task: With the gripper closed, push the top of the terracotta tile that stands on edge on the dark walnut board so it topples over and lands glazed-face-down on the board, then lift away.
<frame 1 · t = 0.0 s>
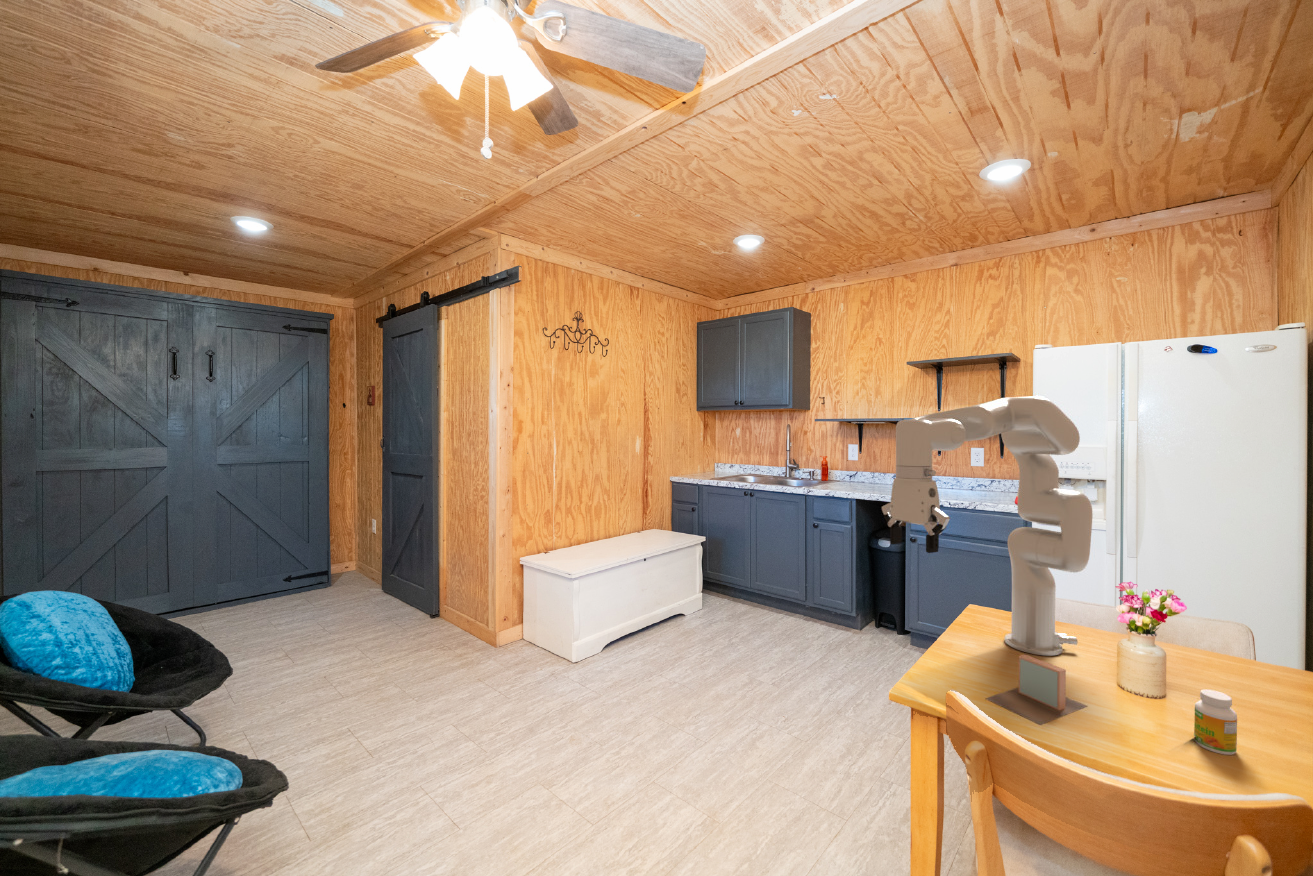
hand: (913, 547, 122), 31 cm above the table, tool pointing down, fingers open, 9 cm apart
tile: (1041, 700, 112), point 1 cm above the table, touching board
supplement bottle: (1214, 747, 98), on the table
board: (1035, 707, 112), on the table
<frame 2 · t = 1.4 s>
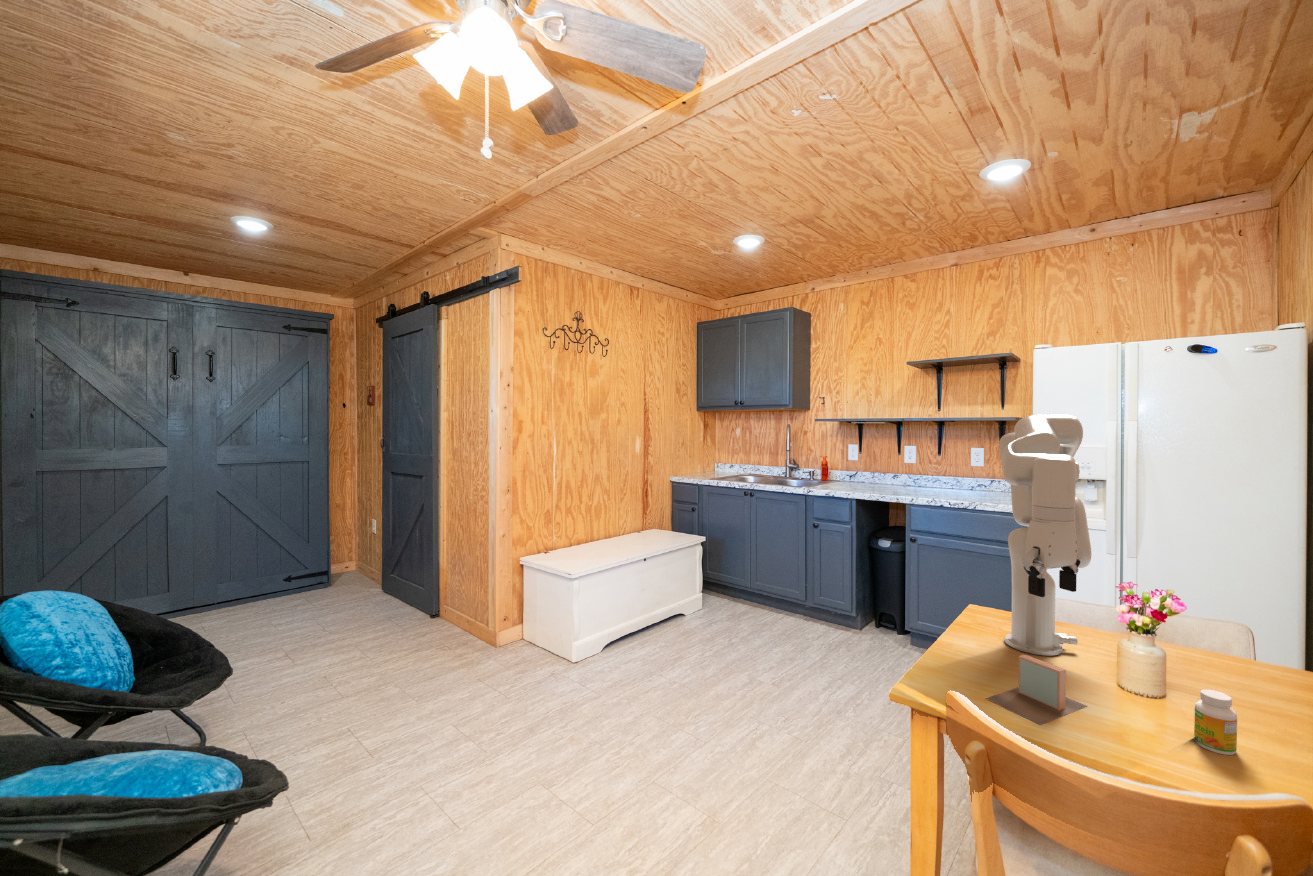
hand: (1052, 592, 116), 23 cm above the table, tool pointing down, fingers open, 9 cm apart
nothing on the table moved.
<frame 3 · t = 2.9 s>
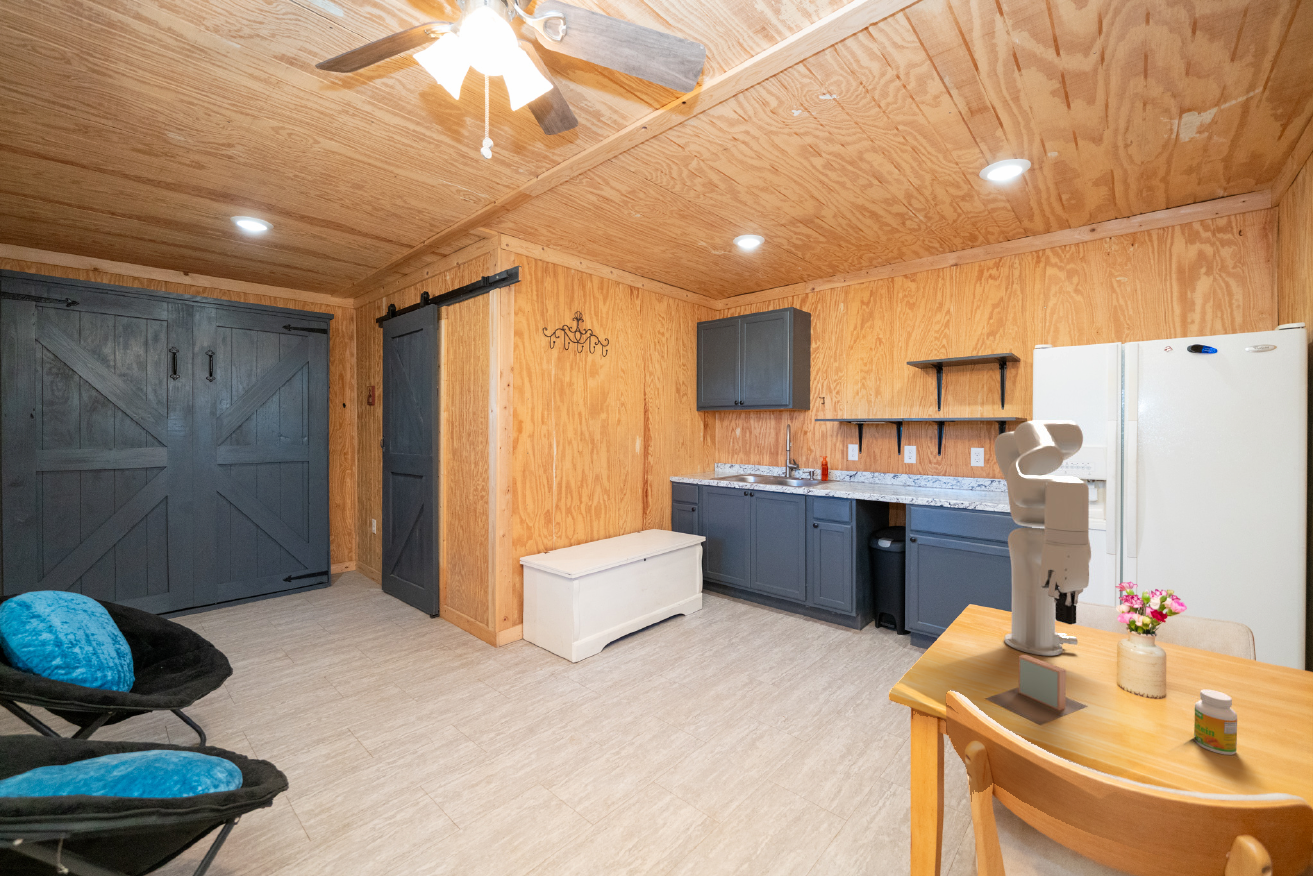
hand: (1065, 622, 115), 17 cm above the table, tool pointing down, fingers closed
nothing on the table moved.
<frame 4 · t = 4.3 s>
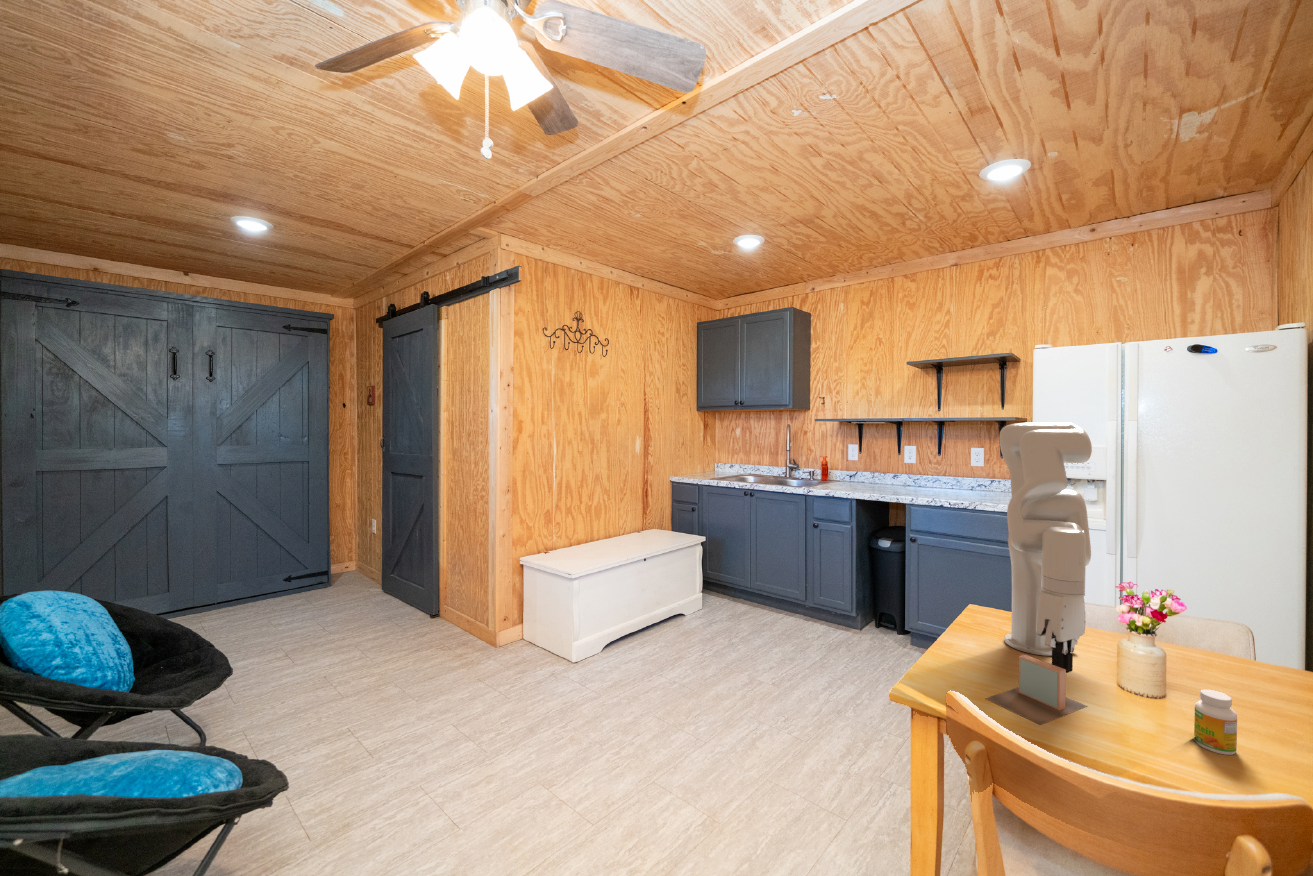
hand: (1062, 669, 115), 6 cm above the table, tool pointing down, fingers closed
nothing on the table moved.
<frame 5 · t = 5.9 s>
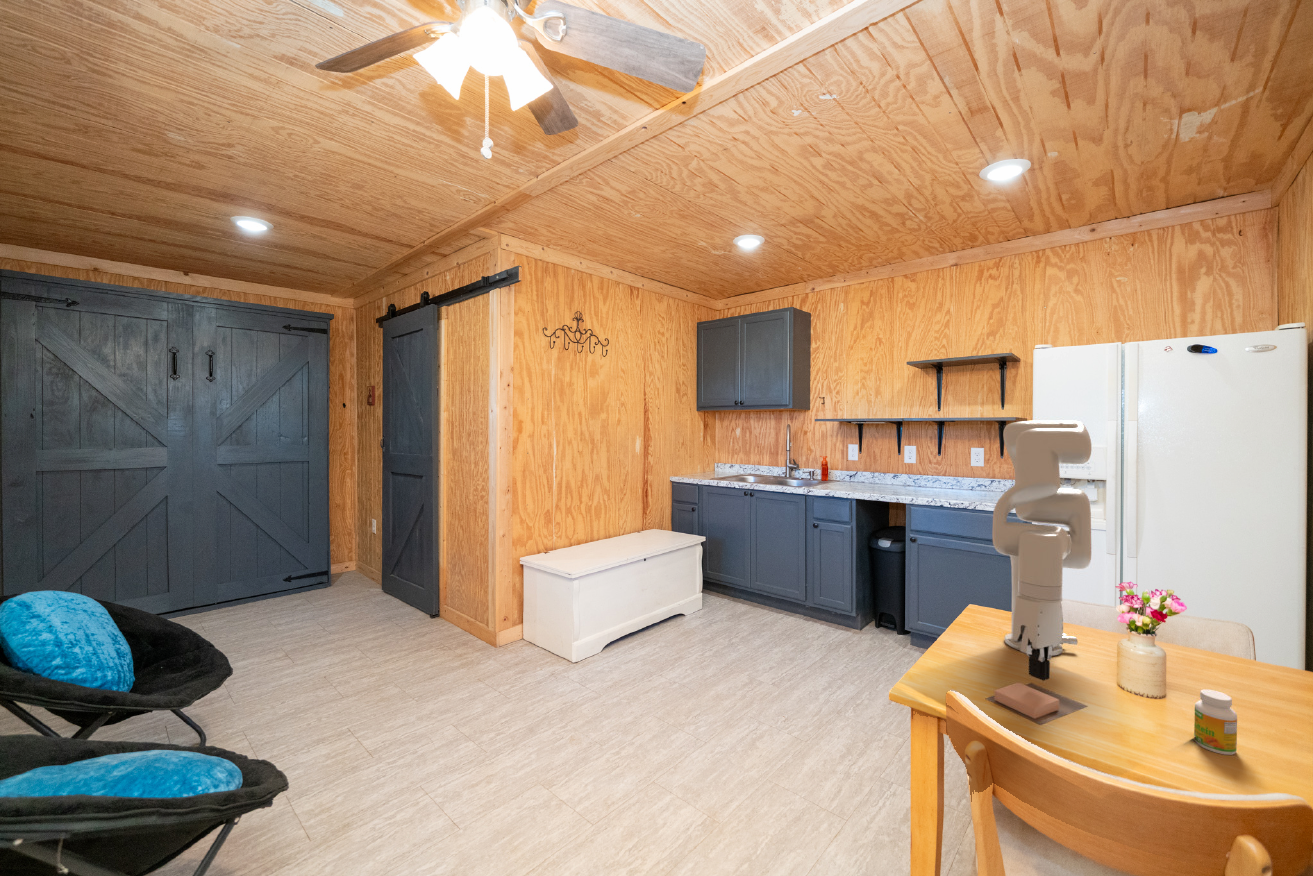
hand: (1038, 677, 112), 6 cm above the table, tool pointing down, fingers closed
tile: (1038, 695, 112), point 2 cm above the table, tilted 90°, touching board
everything else where it was.
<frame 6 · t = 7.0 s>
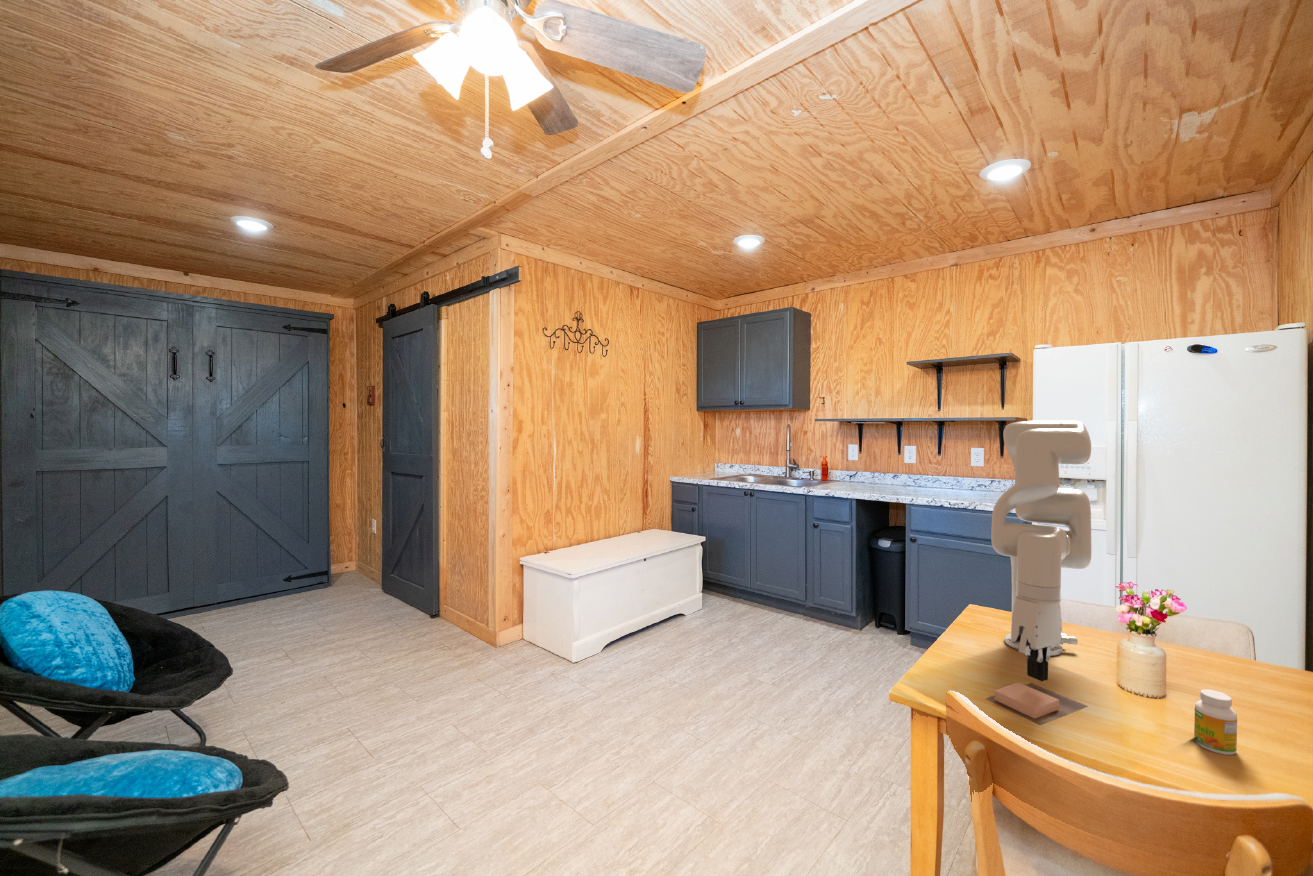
hand: (1037, 677, 112), 6 cm above the table, tool pointing down, fingers closed
nothing on the table moved.
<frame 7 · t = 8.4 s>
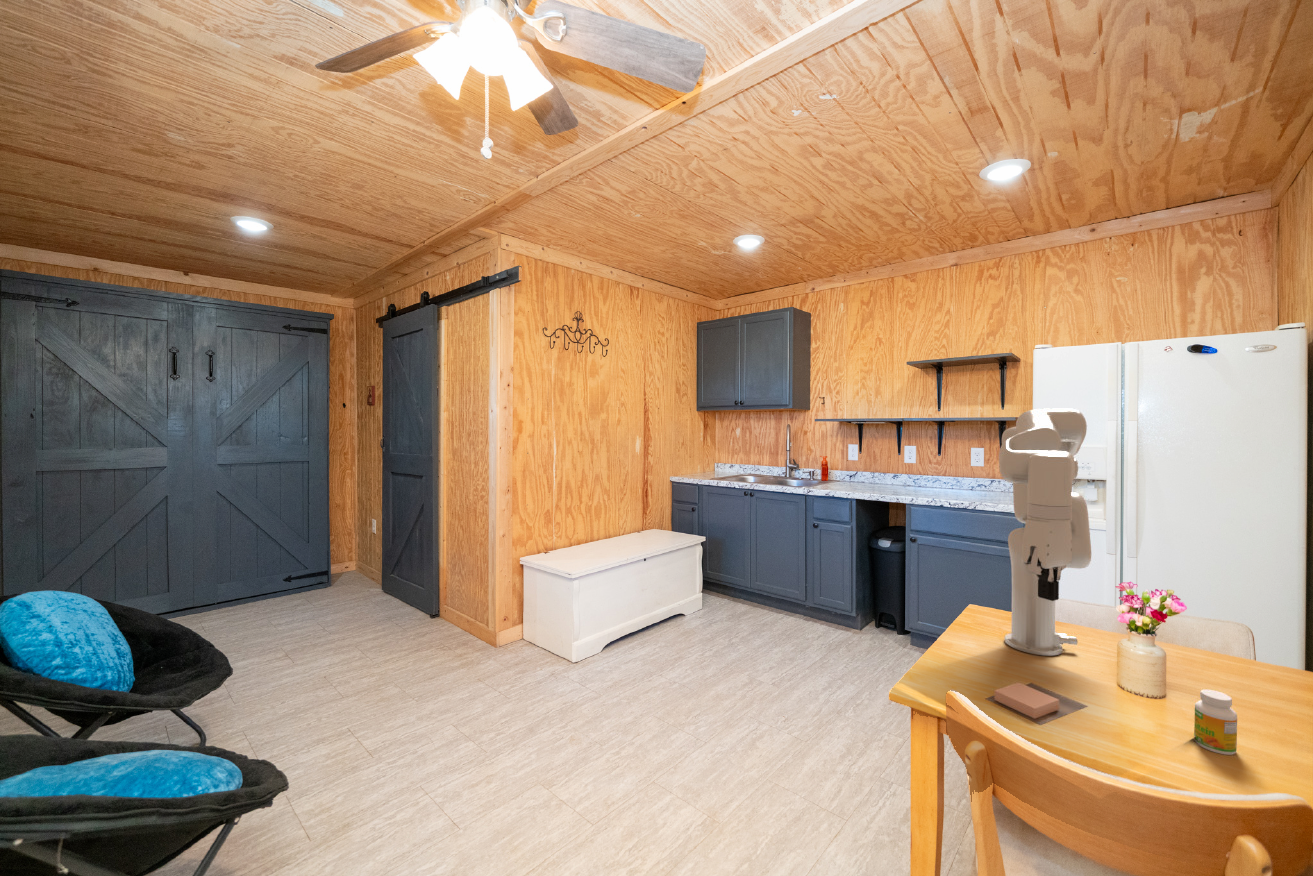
hand: (1048, 598, 113), 22 cm above the table, tool pointing down, fingers closed
nothing on the table moved.
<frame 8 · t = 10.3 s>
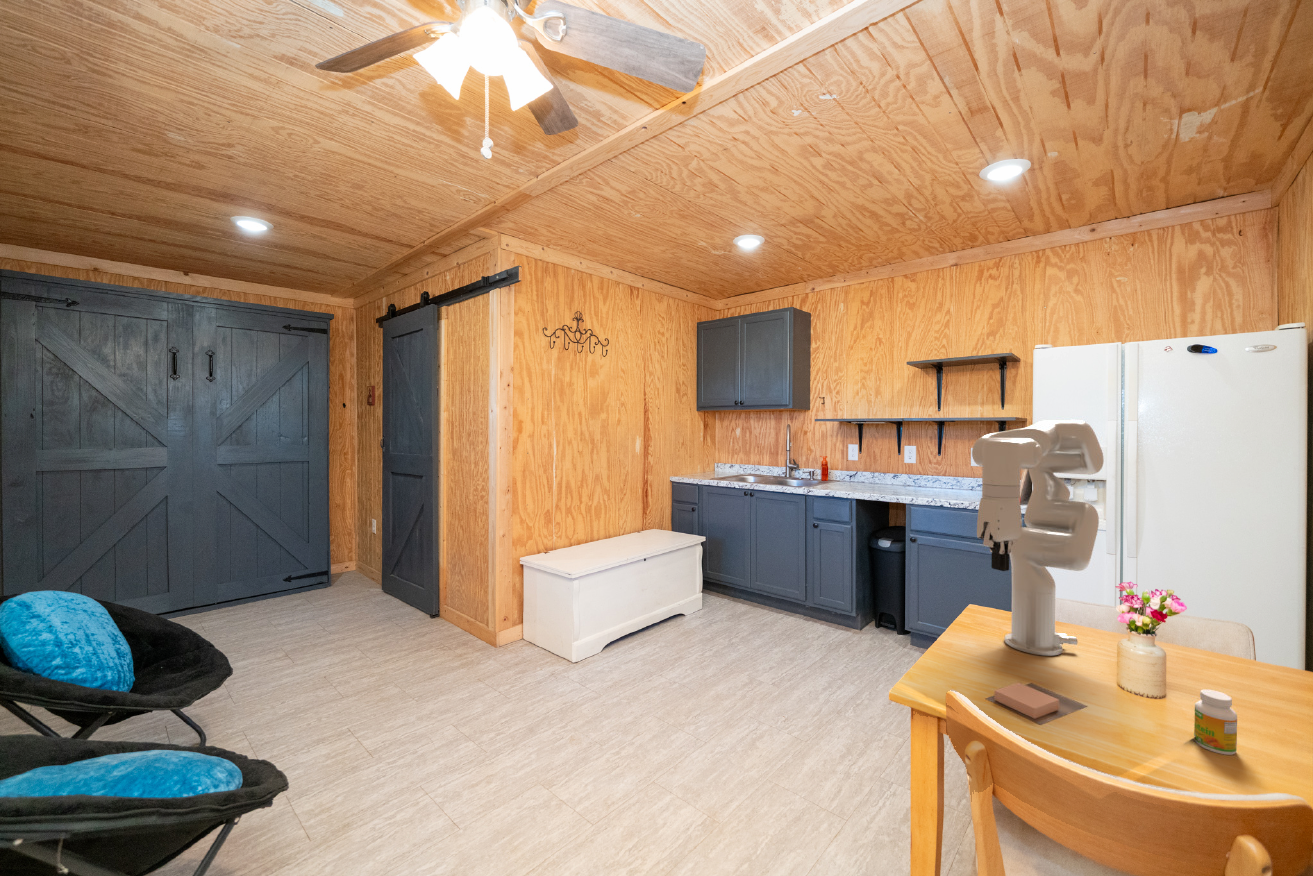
hand: (1000, 569, 126), 25 cm above the table, tool pointing down, fingers closed
nothing on the table moved.
at the end: tile tilted 90°; tile inside the target area on the board (0.9 cm from its centre), point 2.4 cm above the board's base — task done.
